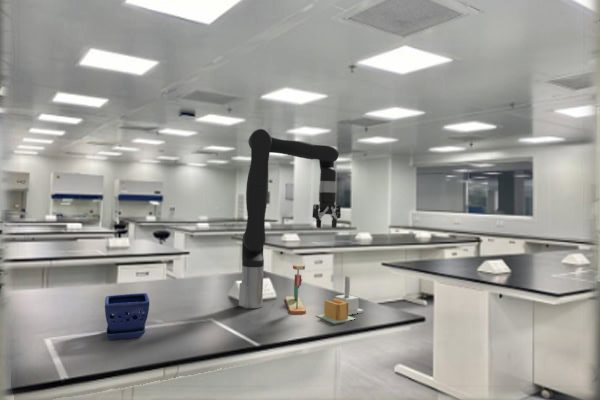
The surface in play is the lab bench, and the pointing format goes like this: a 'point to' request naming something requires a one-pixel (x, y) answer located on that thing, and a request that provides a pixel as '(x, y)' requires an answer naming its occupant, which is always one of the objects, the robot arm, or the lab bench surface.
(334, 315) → the cardboard box
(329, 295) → the lab bench surface
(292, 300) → the crank mechanism
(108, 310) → the flower pot
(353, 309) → the stand
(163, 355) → the lab bench surface
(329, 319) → the mat
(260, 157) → the robot arm
